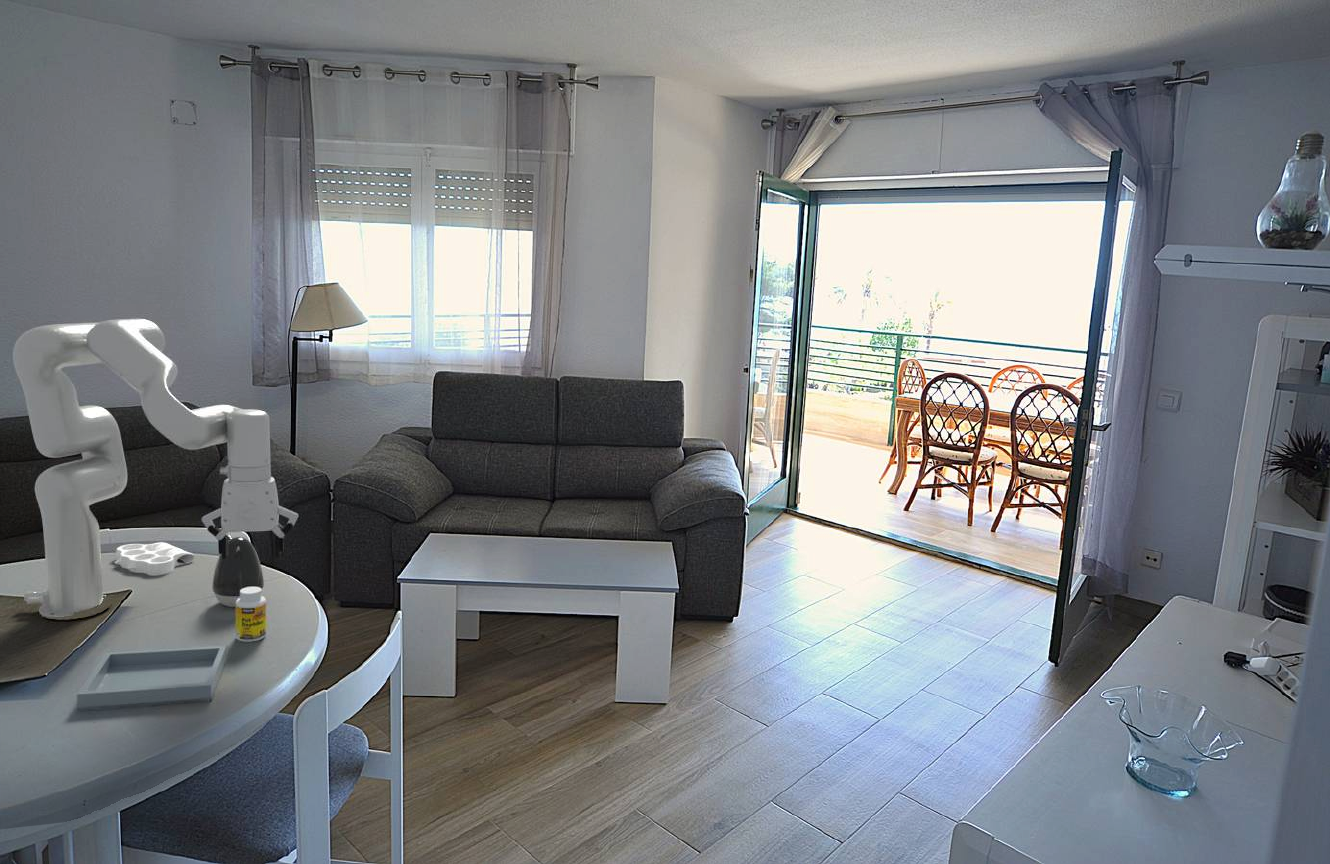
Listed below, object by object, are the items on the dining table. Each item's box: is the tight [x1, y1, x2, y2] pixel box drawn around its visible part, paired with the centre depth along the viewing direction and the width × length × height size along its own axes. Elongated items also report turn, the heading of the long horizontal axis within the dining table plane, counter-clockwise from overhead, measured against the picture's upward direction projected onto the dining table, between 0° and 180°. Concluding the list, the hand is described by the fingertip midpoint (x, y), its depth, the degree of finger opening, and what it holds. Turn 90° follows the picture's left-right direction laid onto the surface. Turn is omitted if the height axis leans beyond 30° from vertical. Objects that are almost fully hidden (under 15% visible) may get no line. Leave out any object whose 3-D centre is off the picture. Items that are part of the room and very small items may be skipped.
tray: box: [76, 645, 228, 712], centre depth 154 cm, size 20×16×3 cm
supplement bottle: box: [235, 587, 267, 643], centre depth 174 cm, size 6×6×10 cm
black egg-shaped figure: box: [212, 534, 265, 608], centre depth 190 cm, size 10×10×15 cm
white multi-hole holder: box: [113, 541, 196, 576], centre depth 210 cm, size 3×18×15 cm
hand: (252, 556), depth 172 cm, fingers open, 9 cm apart
